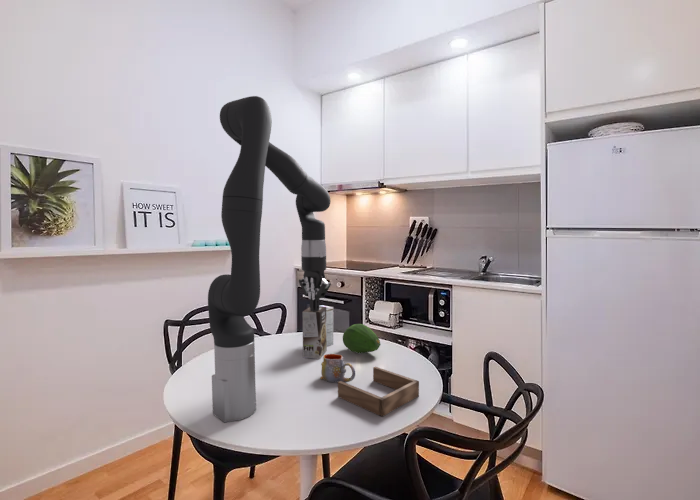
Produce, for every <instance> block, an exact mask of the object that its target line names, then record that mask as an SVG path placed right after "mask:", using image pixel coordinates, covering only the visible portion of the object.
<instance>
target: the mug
mask: <svg viewBox="0 0 700 500" xmlns="http://www.w3.org/2000/svg"><path fill="white" fill-rule="evenodd" d="M322 357H323V361H322V362H321V364H320V365H321V371H320V372H321V376H320V380H324V381H325V382H329V383H338V382H339V381H342V382H345V383H349V382H352V381H353V380H354V379H355V377H356V369H355V367H354V366H353V365H352V363H350V362H346V363H345V362H344V357H343V355H341V354H336V353H329V354H327V353H326V354H323V356H322ZM347 366H348V367H349V368H350V370H351V373H352V374H351V376H350V377H346V376H345V375H346V373H347V369H346V367H347Z"/></svg>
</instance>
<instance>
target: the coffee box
mask: <svg viewBox="0 0 700 500" xmlns="http://www.w3.org/2000/svg"><path fill="white" fill-rule="evenodd" d="M327 348H328V346H327V328H326V307H319V311H316V312H313V311H310V306H308V307H307V308H306V309H304V310H302V358H305V359H306V358H307V359H317V360H319V359H321V358H322V357H323V356H324V355H325V353H326V352H327V351H328V349H327Z"/></svg>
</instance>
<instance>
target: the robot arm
mask: <svg viewBox="0 0 700 500" xmlns="http://www.w3.org/2000/svg"><path fill="white" fill-rule="evenodd" d="M219 122H220V125H221V128H222V129H223V131H224V132H225V133H226V134H227V135H228V136H229V138H231V139H232V140H233V141H234V142H236V143H237V144H238V145H239V146H240V150H239V154H238V158H237V160H236V162H235V165H234V166H233V169H232V170H231V172H230V174H229V175H228V178H227V180H226V183H225V185H224V188H223V191H222V201H221V214H220V215H221V217H220V218H221V223H222V227H223V230H224V233H225V237H226V238H227V241H228V242H227V243H228V244H229V247H230V252H231V267H230V269H231V270H230V273H229V274H227V273H226V274H225V273H224V274H220V275H219V276H217V277H215V278H214V279H213V280H212V282H211V283H210V285H209V289H208V292H207V309H208V320H209V321H208V322H209V330H210V332H211V335H212V336H213V344H214V348H213V349H214V353H213V354H214V374H212V375H211V397H212V399H211V401H212V414H213V415H214V416H215V417H216V418H218V419H219V420H220V421H222V422H223V423H228V422H232V421H239V420H243V419H246V418H248V417H251V416H252V415H253V414H255V412H256V410H257V396H256V395H257V392H256V390H257V389H256V388H257V387H256V360H255V359H256V355H255V350H256V349H255V330H254V329H253V327H252V326H251V325H250V324H249V323H248V322H247V320H246V318H245V317H247V316H249V315H251V314H252V313H253V312H254V311H255V310H256V309H257V307H258V304H259V301H260V296H261V274H260V273H261V271H260V265H261V264H260V249H261V248H260V245H261V226H262V224H261V223H262V215H263V204H264V203H263V201H264V183H265V182H264V181H265V172H266V168H267V169H268V170H270V172H271V173H272V174H274V176H275V177H276V178H277V179H278V180H279V182H280V183H282V185H283V186H284V187H285V188H286V189H287V190H288V191H289V193H291V194H293V195H295V196H296V197H295V208H296V212H297V215H298V219H299V222H300V225H301V248H300V249H301V252H300V254H301V255H300V256H301V270H302V271H303V277H302V278H300V279H298V283H299V285H300V288H301V290H302V291H303V294H304V296H305V297H308V300H309V307H310V311H313V312H316V311H319V306H320V299H323V298H325V296H326V294H327V293H328V290H329V289H330V287H331V282H330V281H329V282H328V281H327V280H326V275H325V271H326V270H327V244H326V226H325V225H326V224H325V222H324V221H323V220H320V219H317V218H316V217H315V215H314V213H322V212H324V211H327V210H328V209H329V208H330V205H331V196H330V194H329V192H328V190H327V189H326V188H325V187H324V186H323V185H322V184H321V183H319V181H317V180H315V179H314V178H313V177H311V176H309V174H307V172H306V171H305V169H304V168H303V167H302V166H301V165H300V163H299V162H298V161H297V160H296V159H295V158H294V157H292V156H291V155H290V154H288V153H287V152H285V151H284V150H282V149H280V148H279V147H277V146H276V145H274V144H273V143H271V142H270V139H271V133H272V124H273V123H272V111H271V109H270V106H269V104H268V103H267V101H266V100H265V99H264V98H262V97H261V96H258V95H252V96H247V97H243V98H238V99H236V100H231V101H229V102H227V103H224V104H223V106H222V107H221V109H220V113H219Z"/></svg>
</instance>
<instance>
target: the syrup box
mask: <svg viewBox="0 0 700 500" xmlns="http://www.w3.org/2000/svg"><path fill="white" fill-rule="evenodd" d="M319 307H326V328H327V347H329V346H332V345H334V306H328V305H323V304H322V305H320V304H319Z"/></svg>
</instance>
